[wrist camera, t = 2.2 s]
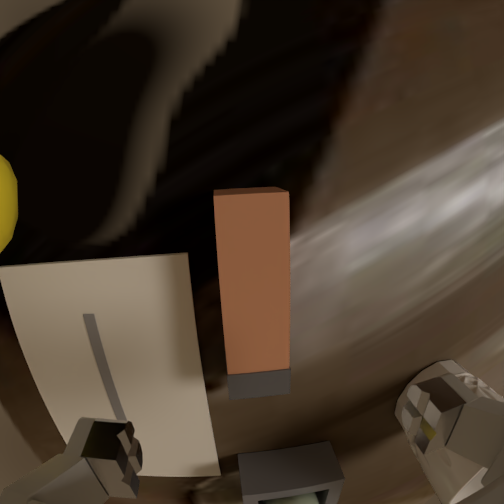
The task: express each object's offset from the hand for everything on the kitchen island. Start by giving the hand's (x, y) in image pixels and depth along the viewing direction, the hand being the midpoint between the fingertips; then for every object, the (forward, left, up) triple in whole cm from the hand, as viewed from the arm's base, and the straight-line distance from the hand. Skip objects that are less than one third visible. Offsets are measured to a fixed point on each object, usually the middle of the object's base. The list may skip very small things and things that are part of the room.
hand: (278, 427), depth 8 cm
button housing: (+16, +2, -9) cm, 19 cm away
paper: (+6, -9, -9) cm, 14 cm away
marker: (-1, 0, -10) cm, 10 cm away
